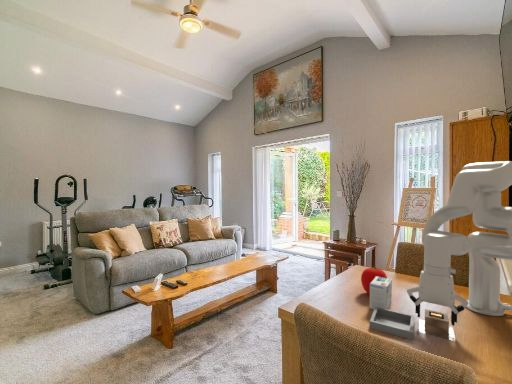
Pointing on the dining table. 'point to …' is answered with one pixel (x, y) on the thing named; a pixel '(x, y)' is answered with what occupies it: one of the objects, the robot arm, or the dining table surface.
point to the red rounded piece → (371, 277)
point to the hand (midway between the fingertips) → (435, 319)
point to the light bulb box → (380, 292)
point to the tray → (392, 322)
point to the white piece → (422, 330)
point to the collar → (437, 323)
